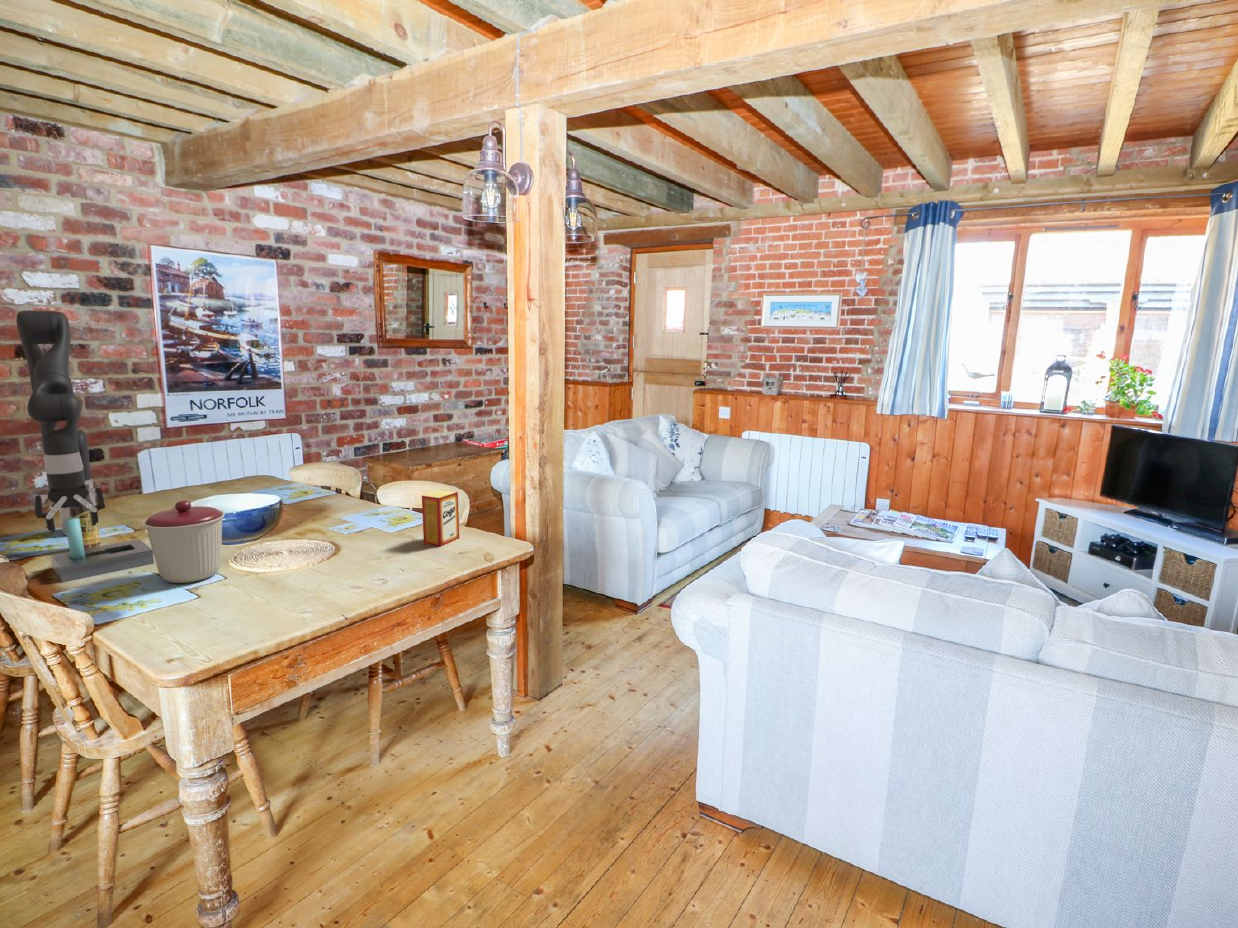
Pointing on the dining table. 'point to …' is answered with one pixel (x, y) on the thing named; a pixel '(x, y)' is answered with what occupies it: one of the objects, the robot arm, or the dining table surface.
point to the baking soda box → (440, 517)
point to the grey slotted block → (102, 560)
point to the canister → (186, 542)
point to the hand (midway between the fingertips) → (73, 528)
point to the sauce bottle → (86, 524)
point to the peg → (75, 538)
